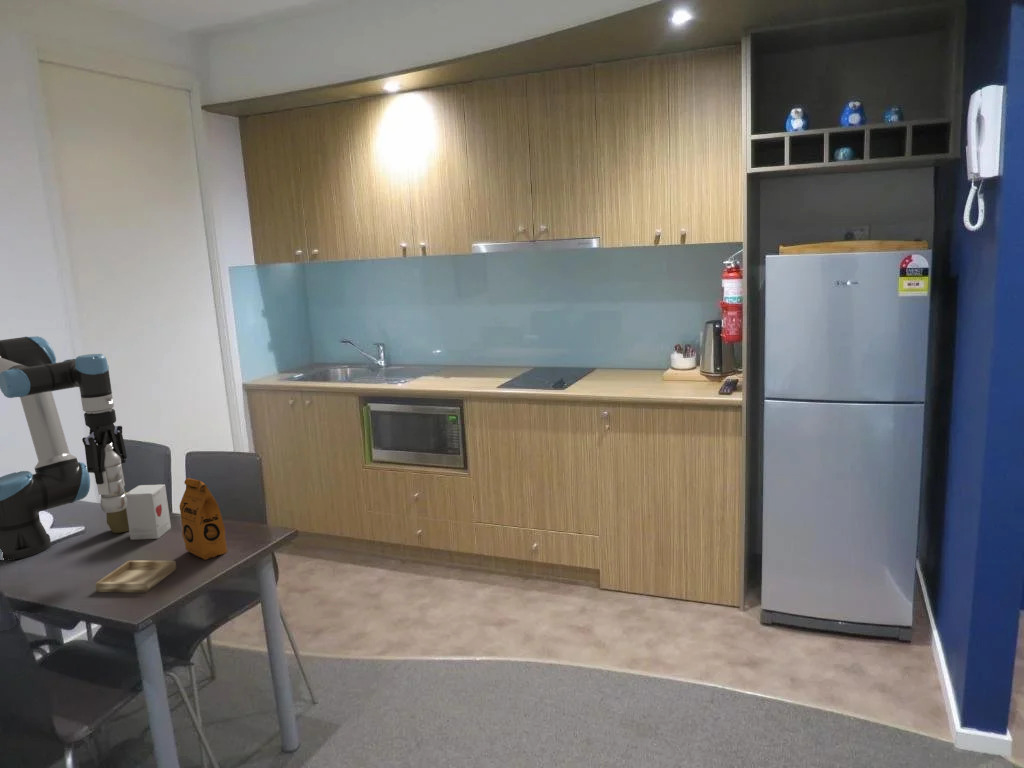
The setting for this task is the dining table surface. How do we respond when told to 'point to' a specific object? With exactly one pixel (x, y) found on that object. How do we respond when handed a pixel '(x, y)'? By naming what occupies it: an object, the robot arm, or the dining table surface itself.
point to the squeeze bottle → (118, 521)
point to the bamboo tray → (136, 576)
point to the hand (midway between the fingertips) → (112, 489)
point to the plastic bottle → (113, 482)
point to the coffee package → (201, 521)
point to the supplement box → (147, 512)
